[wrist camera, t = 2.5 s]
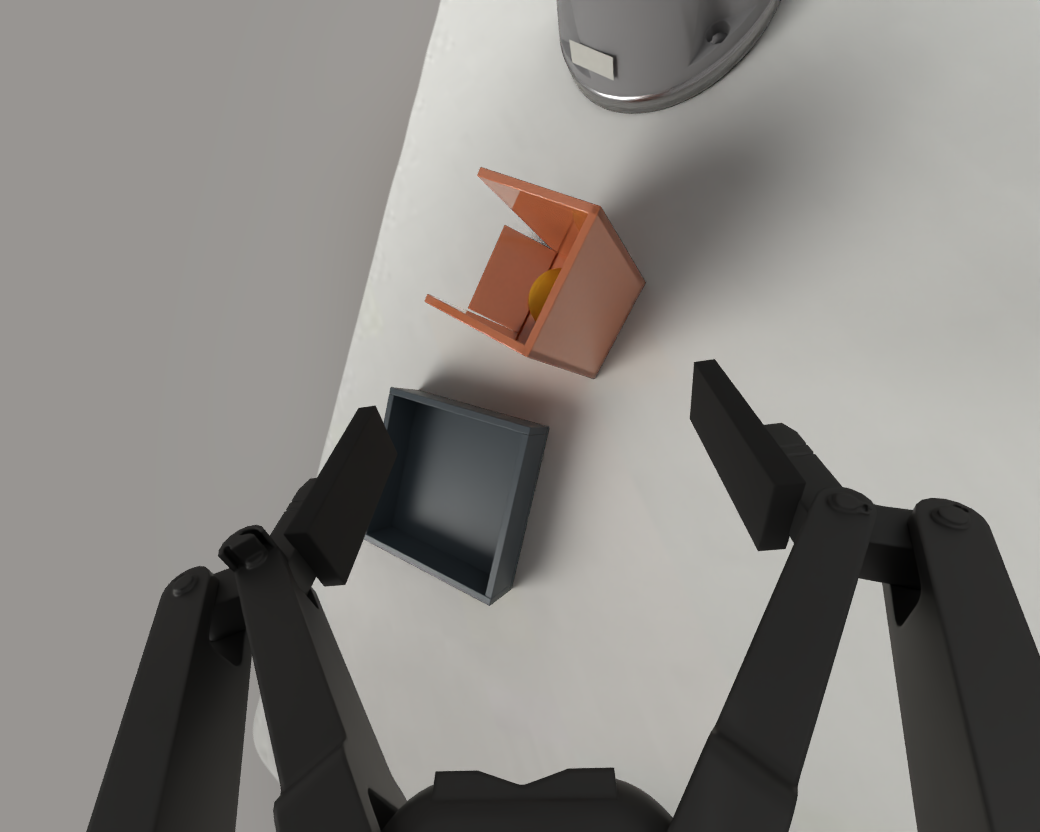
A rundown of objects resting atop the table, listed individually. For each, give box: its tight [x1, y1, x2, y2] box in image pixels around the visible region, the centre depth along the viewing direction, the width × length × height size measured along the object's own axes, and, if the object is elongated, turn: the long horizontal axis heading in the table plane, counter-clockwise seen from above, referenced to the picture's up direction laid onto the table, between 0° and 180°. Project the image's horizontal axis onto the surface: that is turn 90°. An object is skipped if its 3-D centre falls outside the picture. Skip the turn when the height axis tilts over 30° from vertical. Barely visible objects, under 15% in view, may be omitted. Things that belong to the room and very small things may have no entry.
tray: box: [364, 387, 549, 606], centre depth 36 cm, size 14×14×4 cm
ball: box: [528, 268, 562, 322], centre depth 30 cm, size 5×5×5 cm
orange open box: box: [425, 167, 646, 379], centre depth 28 cm, size 12×8×12 cm
